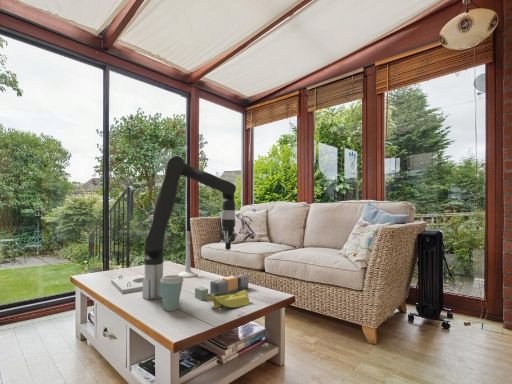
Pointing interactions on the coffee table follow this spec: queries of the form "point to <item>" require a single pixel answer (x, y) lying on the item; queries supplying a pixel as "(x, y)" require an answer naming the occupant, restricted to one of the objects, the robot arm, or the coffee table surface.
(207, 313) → the coffee table surface
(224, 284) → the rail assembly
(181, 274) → the candlestick
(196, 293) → the green block
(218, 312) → the coffee table surface
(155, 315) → the coffee table surface
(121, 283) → the mounting panel
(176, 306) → the disposable coffee cup
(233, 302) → the plastic component
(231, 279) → the orange module
